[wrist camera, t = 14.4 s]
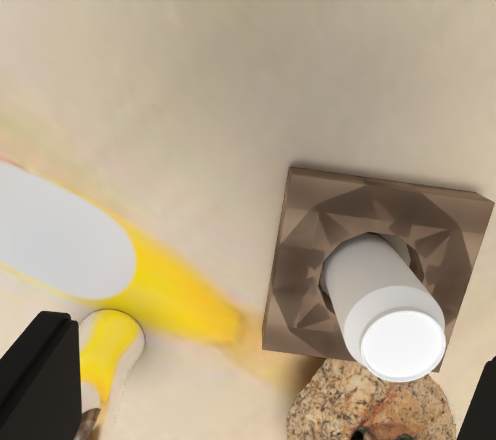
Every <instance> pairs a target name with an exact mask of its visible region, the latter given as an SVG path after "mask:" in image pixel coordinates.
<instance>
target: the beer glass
mask: <svg viewBox="0 0 496 440" xmlns="http://www.w3.org/2000/svg"><path fill="white" fill-rule="evenodd" d="M144 343H145V339H144V334H143V331H142V329H141V327H140V326H139V324H138V323H137V322H136V321H135V320H134V319H133V318H132V317H130V316H129V315H127V314H125V313H123V312H120V311H117V310H110V309H106V310H99V311H96V312H94V313H92V314H90V315H89V316H87V317H86V318H85V319H84V320H83V322H82V323H81V325H80V327H79V351H80V375H81V399H82V418H81V423H80V426H79V429H78V431H77V434H76V436H75V438H74V440H111V438H112V436H113V433H114V430H115V427H116V423H117V419H118V415H119V411H120V406H121V401H122V395H123V390H124V385H125V380H126V377H127V374H128V372H129V370H130V369H131V367H132V366H133V365H134V364H135V362H136V361H137V360H138V358H139V357H140V355H141V354H142V352H143V349H144Z"/></svg>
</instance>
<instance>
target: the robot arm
mask: <svg viewBox="0 0 496 440" xmlns="http://www.w3.org/2000/svg"><path fill="white" fill-rule="evenodd" d="M81 418H82V399H81V375H80V351H79V327H78V322H77V321H73V320H71V317H70V314H68V313H60V312H50V311H41V312H40V313H39V314H38V315H37V316H36V317H35V318H34V320H33V321H32V322H31V323H30V324H29V326H28V327H27V328H26V329H25V330H24V332H23V333H22V334H21V335H20V336H19V338H18V339H17V340H16V341H15V342H14V344H13V345H12V346H11V347H10V348H9V350H8V351H7V352H6V353H5V354H4V356H3V357H2V358H1V359H0V440H74V438H75V436H76V434H77V431H78V429H79V426H80V423H81ZM457 440H496V356H495V357H494V358H493V359H492V361H488V362H487V363H486V364H485V366H484V369H483V372H482V374H481V377H480V379H479V382H478V385H477V387H476V390H475V393H474V395H473V398H472V400H471V403H470V406H469V408H468V411H467V414H466V416H465V419H464V421H463V424H462V427H461V429H460V432H459V434H458V437H457Z"/></svg>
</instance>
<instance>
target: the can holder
mask: <svg viewBox="0 0 496 440" xmlns="http://www.w3.org/2000/svg"><path fill="white" fill-rule="evenodd" d="M494 204H495V203H494V202H492V201H491V200H489V199H487V198H485V197H483V196H481V195H479V194H477V193H475V192H468V191H460V190H453V189H446V188H439V187H432V186H424V185H417V184H410V183H403V182H395V181H388V180H381V179H374V178H366V177H359V176H352V175H345V174H338V173H330V172H323V171H316V170H309V169H301V168H294V167H289V172H288V178H287V184H286V190H285V196H284V202H283V208H282V214H281V220H280V226H279V232H278V237H277V243H276V249H275V255H274V261H273V267H272V273H271V279H270V285H269V291H268V297H267V303H266V309H265V315H264V321H263V327H262V350H269V351H277V352H285V353H292V354H300V355H308V356H315V357H323V358H331V359H338V360H346V361H354V362H358V361H356V360H355V359H354V358H353V356H352V355H351V354H350V352H349V351H348V349H347V347H346V344H345V341H344V338H343V335H342V332H341V329H340V326H339V323H338V320H337V317H336V314H335V311H334V308H333V305H332V302H331V299H330V297H329V296H327V295H326V294H325V293H323V292H322V291H321V289H320V286H319V279H320V274H321V269H322V264H323V261H324V260H325V259H326V258H327V257H328V256H329V255H330V254H331V253H332V251H333V250H334V249H335V248H336V247H337V246H338V245H339V244H340V243H341V242H342V241H344V240H347V239H350V238H353V237H355V236H358V235H361V234H364V233H366V232H375V233H382V234H390V235H397V236H398V237H399V238H401V239H402V240H403V241H404V242H406V244H407V247H408V251H409V254H410V257H411V264H410V267H409V268H410V269H411V271H412V272H413V273H414V274H415V276H416V277H417V278H418V279H419V281H420V282H421V283H422V284H423V286H424V287H425V288H426V289H427V291H428V292H429V293H430V294H431V296H432V297H433V298H434V299H435V301H436V302H437V303H438V305H439V306H440V308H441V310H442V312H443V315H444V320H445V331H444V334H445V339H446V347H445V352H446V349H447V346H448V343H449V340H450V337H451V334H452V331H453V328H454V325H455V322H456V319H457V316H458V313H459V310H460V307H461V304H462V301H463V298H464V295H465V292H466V289H467V286H468V283H469V280H470V277H471V274H472V271H473V268H474V264H475V261H476V258H477V255H478V252H479V249H480V246H481V243H482V240H483V237H484V234H485V231H486V228H487V225H488V222H489V219H490V216H491V213H492V210H493V207H494ZM445 352H444V355H445ZM444 355H443V357H442V359H441V361H440V362H439V364H438V365H437V366H436V367H435V368H434V369H433V370H432V371H431V372H438V373H439V370H440V367H441V364H442V361H443V358H444Z"/></svg>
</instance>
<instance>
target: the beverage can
mask: <svg viewBox="0 0 496 440" xmlns="http://www.w3.org/2000/svg"><path fill="white" fill-rule="evenodd" d="M323 275H324V279H325V283H326V286H327V289H328V292H329V295H330V299H331V302H332V305H333V308H334V311H335V314H336V317H337V320H338V323H339V326H340V329H341V332H342V335H343V338H344V341H345V344H346V347H347V349H348V351H349V352H350V354H351V355H352V356H353V358H354V359H355V360H356V361H358V362H359V363H360V364H362V365H363V366H365V367H367V369H368V370H369V371H370V372H371V373H373V374H374V375H375V376H377V377H379V378H381V379H383V380H386V381H391V382H408V381H413V380H416V379H419V378H421V377H423V376H425V375H426V374H428V373H429V372H431V371H432V370H433V369H434V368H435V367H436V366H437V365H438V364H439V362H440V361H441V359H442V357H443V355H444V352H445V347H446V339H445V334H444V331H445V320H444V315H443V312H442V310H441V308H440V306H439V305H438V303H437V302H436V301H435V299H434V298H433V297H432V296H431V294H430V293H429V292H428V291H427V289H426V288H425V287H424V286H423V284H422V283H421V282H420V281H419V279H418V278H417V277H416V276H415V274H414V273H413V272H412V271H411V269H410V268H409V267H408V266H407V265H406V263H405V262H404V261H403V260H402V258H401V257H400V256H399V255H398V253H397V252H396V251H395V250H394V249H393V247H392V246H391V245H390V244H389V243H388V242H387V241H385V240H384V239H382V238H381V237H379V236H376V235H373V234H369V233H364V234H361V235H358V236H355V237H353V238H350V239H347V240H344V241H342V242H341V243H340V244H339V245H338V246H337V247H336V248H335V249H334V250H333V251H332V253H331V254H330V255H329V256H328V257H327V258H326V259H325V260H324V264H323Z"/></svg>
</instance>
